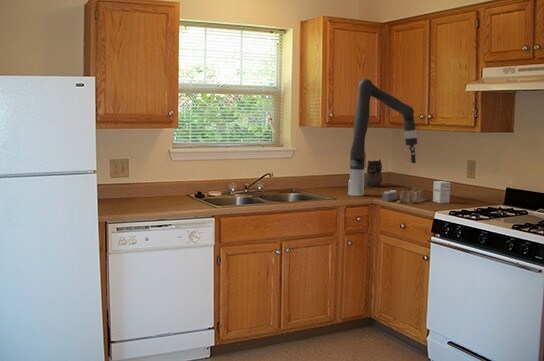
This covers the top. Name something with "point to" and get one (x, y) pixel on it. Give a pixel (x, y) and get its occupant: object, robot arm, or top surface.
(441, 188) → the supplement box
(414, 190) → the display stand
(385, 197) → the frame bar
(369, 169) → the owl
